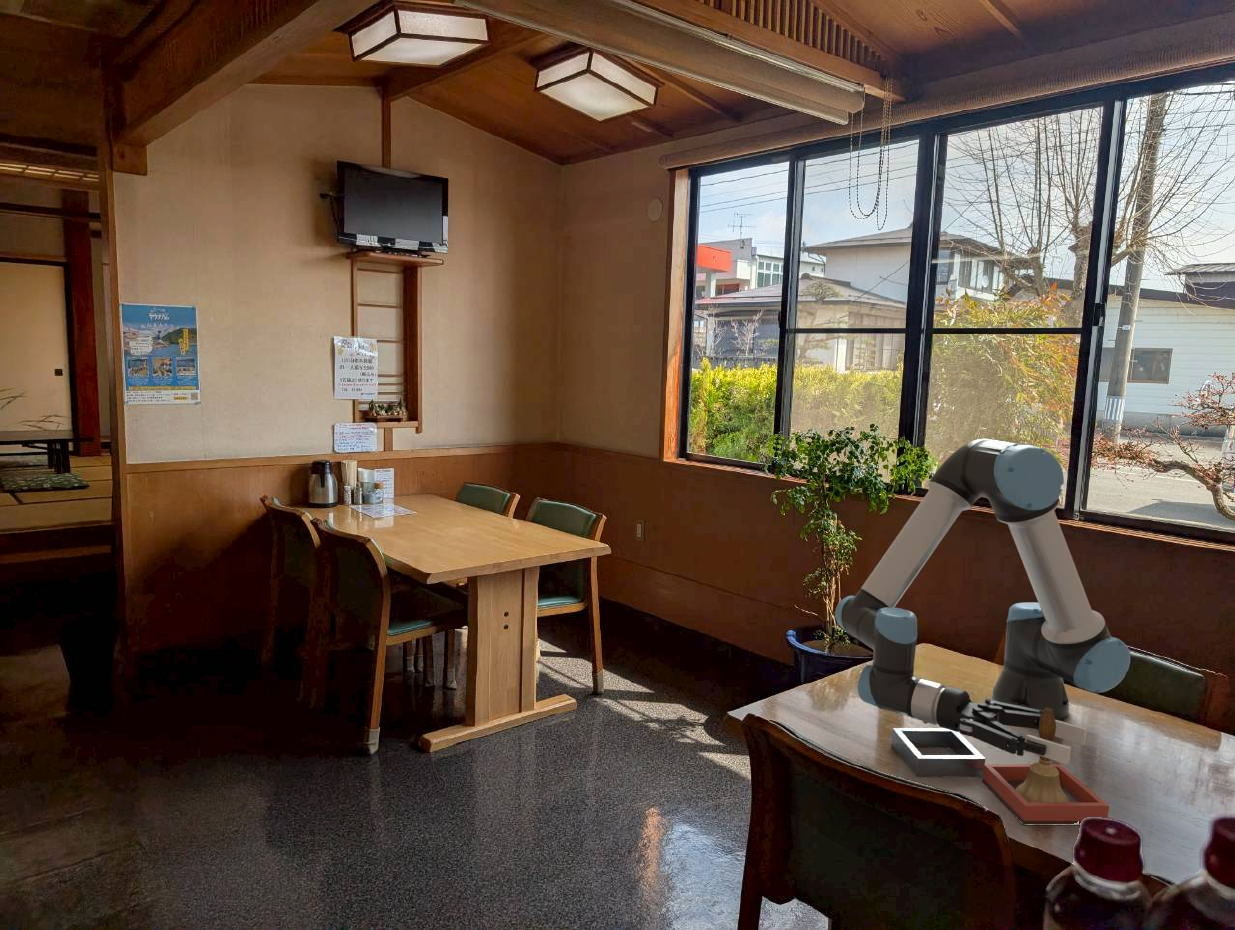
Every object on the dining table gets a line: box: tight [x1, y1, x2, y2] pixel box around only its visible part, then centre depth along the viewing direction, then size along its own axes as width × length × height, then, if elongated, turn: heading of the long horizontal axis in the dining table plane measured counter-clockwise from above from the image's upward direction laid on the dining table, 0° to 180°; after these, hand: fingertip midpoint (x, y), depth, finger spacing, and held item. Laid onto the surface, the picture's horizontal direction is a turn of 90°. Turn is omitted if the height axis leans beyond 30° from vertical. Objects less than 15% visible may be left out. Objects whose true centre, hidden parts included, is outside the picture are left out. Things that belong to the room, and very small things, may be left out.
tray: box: [981, 763, 1110, 825], centre depth 141 cm, size 14×14×3 cm
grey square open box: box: [891, 727, 986, 778], centre depth 156 cm, size 12×12×4 cm
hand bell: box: [1016, 708, 1069, 803], centre depth 140 cm, size 8×8×16 cm
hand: (1077, 745), depth 137 cm, fingers open, 9 cm apart
